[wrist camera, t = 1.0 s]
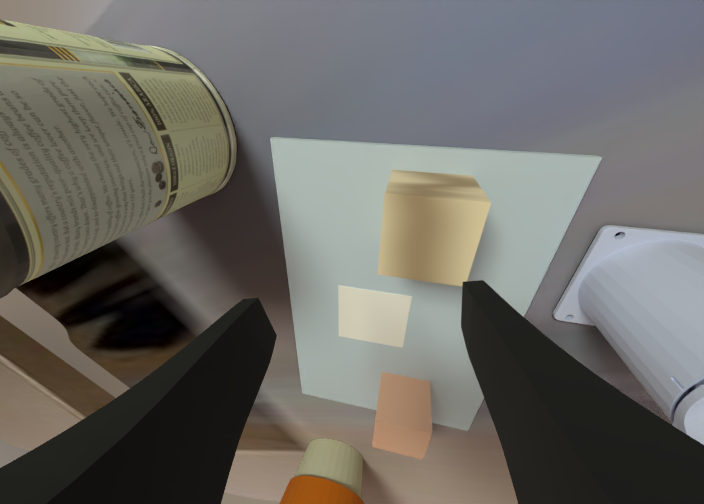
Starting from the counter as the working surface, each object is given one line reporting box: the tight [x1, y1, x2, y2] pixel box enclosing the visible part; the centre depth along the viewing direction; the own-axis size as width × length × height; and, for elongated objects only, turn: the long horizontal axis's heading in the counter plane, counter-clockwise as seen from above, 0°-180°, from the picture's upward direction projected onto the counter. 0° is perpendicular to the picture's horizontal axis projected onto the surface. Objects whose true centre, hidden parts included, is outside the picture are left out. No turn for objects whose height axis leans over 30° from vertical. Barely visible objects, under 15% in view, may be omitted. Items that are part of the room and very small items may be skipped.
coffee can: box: [0, 19, 237, 298], centre depth 14 cm, size 10×10×14 cm
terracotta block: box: [372, 372, 432, 460], centre depth 27 cm, size 5×5×5 cm
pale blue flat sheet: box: [270, 137, 602, 431], centre depth 24 cm, size 20×30×1 cm, turn 179°
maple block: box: [377, 170, 491, 286], centre depth 16 cm, size 5×5×5 cm
